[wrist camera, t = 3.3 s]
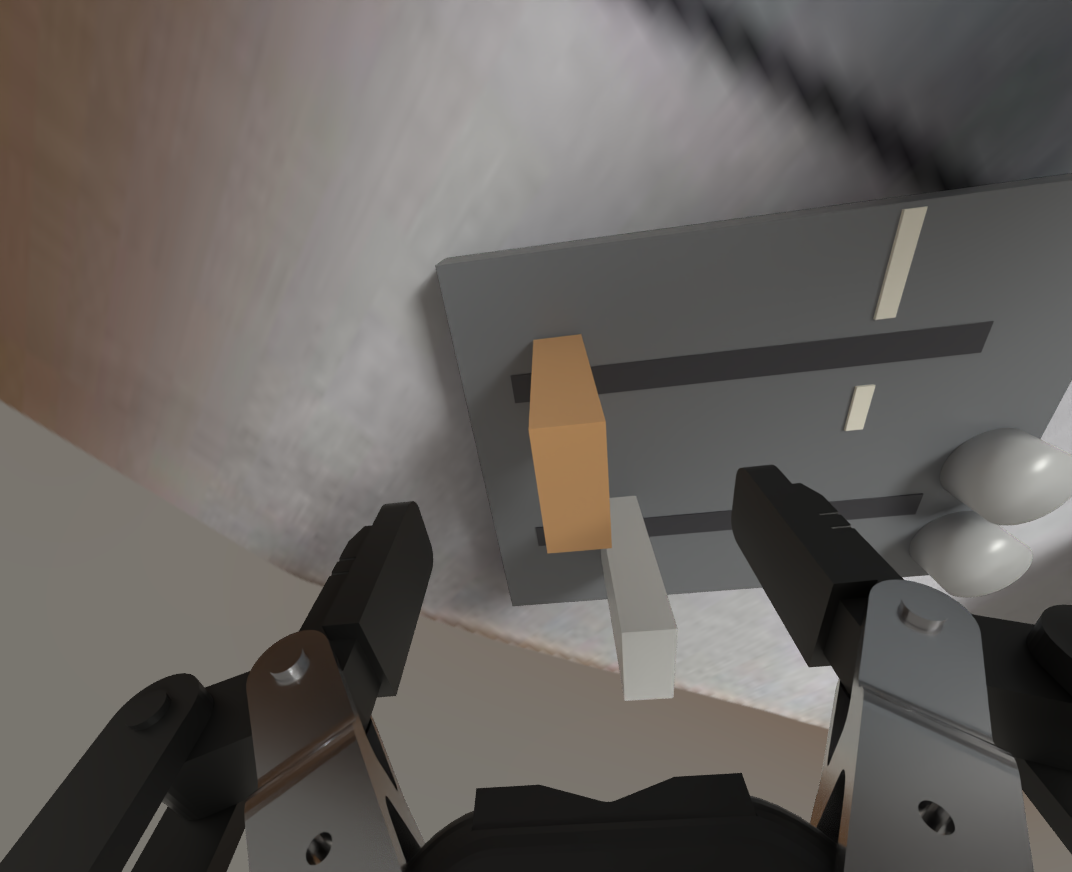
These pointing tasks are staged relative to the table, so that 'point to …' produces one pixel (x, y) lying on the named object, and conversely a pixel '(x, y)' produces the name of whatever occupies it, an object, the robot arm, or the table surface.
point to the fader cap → (569, 447)
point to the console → (783, 390)
